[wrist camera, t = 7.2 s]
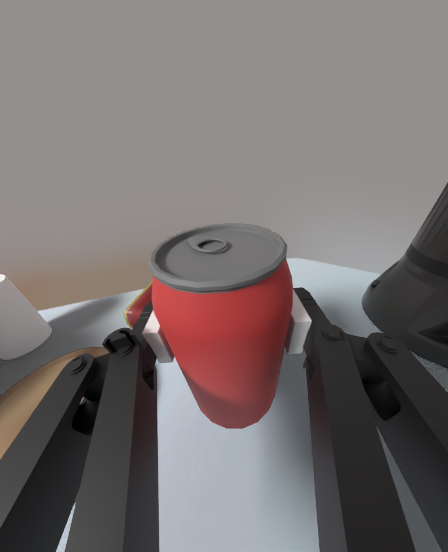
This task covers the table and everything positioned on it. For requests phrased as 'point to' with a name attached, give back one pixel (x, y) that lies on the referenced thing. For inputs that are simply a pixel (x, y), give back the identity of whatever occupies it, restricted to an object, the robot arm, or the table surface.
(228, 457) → the table surface
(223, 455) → the table surface
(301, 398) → the table surface
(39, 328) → the white cup
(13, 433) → the shallow wooden bowl
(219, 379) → the beer can
